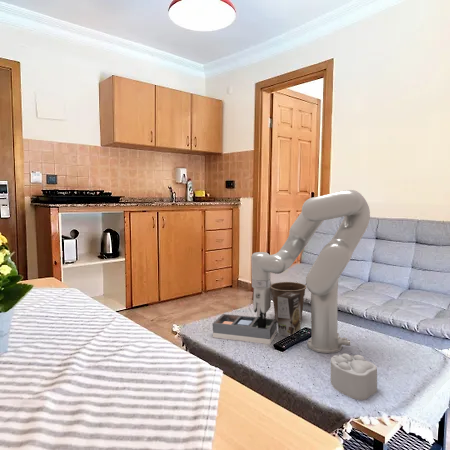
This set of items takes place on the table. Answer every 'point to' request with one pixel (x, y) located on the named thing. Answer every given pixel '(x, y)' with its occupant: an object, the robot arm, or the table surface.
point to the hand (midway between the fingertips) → (261, 327)
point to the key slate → (244, 323)
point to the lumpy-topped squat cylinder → (353, 376)
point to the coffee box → (289, 313)
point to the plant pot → (283, 288)
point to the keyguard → (244, 330)
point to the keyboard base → (245, 338)
